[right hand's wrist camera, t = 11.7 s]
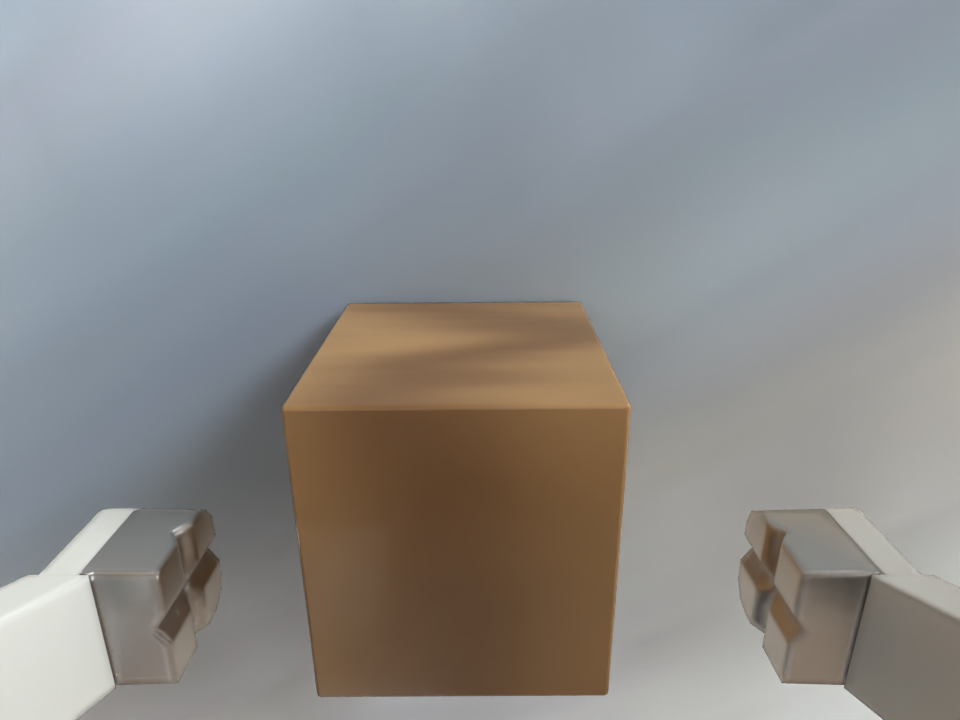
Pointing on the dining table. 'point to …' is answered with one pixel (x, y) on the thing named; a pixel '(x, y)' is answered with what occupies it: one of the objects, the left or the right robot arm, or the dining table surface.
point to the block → (459, 500)
